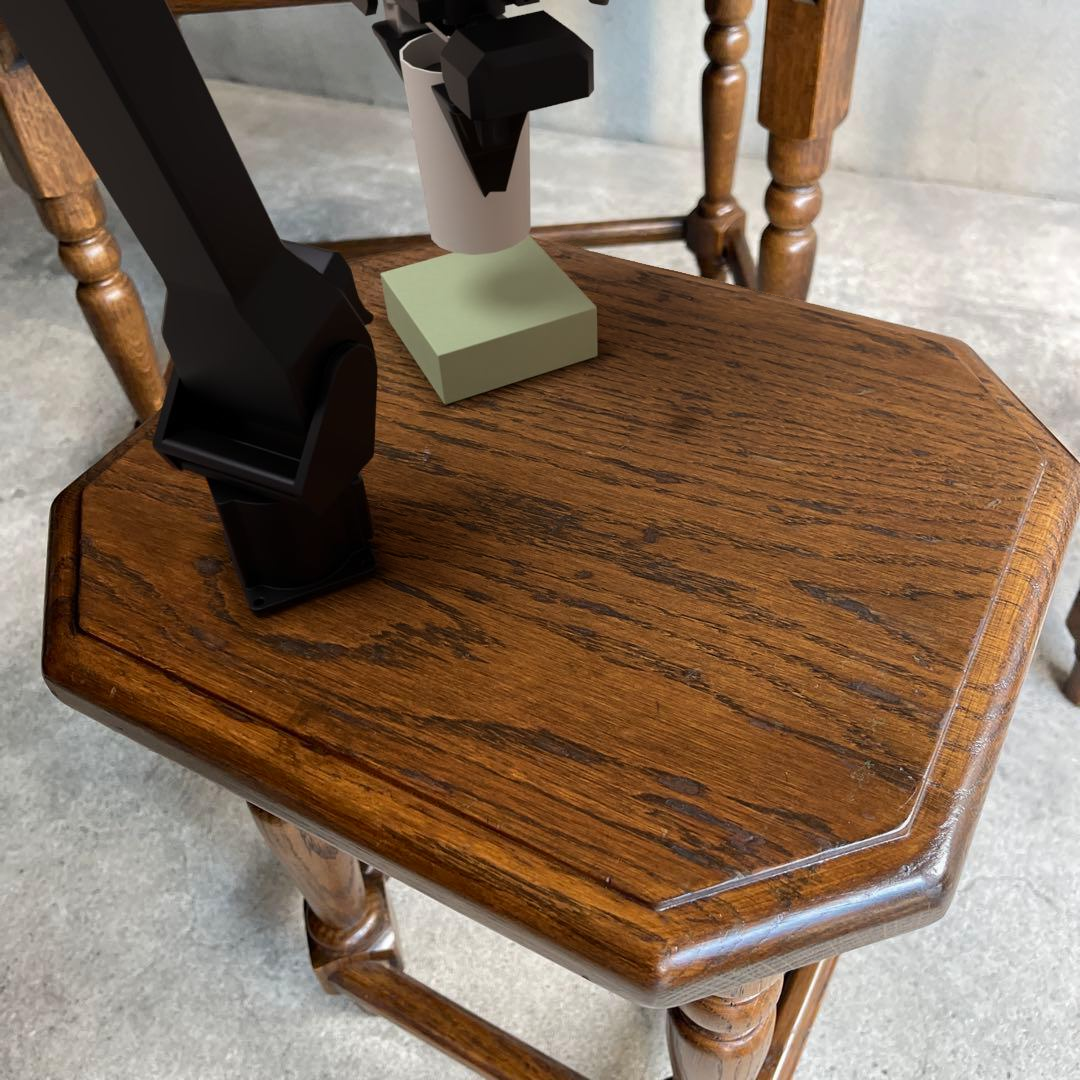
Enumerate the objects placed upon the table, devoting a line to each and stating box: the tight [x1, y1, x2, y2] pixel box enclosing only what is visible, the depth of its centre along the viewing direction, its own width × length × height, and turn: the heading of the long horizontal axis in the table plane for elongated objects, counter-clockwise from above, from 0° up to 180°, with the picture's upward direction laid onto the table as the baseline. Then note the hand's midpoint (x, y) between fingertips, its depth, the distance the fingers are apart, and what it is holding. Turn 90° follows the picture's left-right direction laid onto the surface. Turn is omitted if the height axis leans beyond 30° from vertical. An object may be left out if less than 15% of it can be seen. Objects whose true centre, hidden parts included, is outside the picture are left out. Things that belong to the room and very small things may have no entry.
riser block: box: [380, 233, 598, 405], centre depth 68 cm, size 10×10×4 cm
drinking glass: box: [400, 32, 532, 255], centre depth 60 cm, size 7×7×10 cm
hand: (474, 178), depth 61 cm, fingers closed on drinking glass, 5 cm apart
